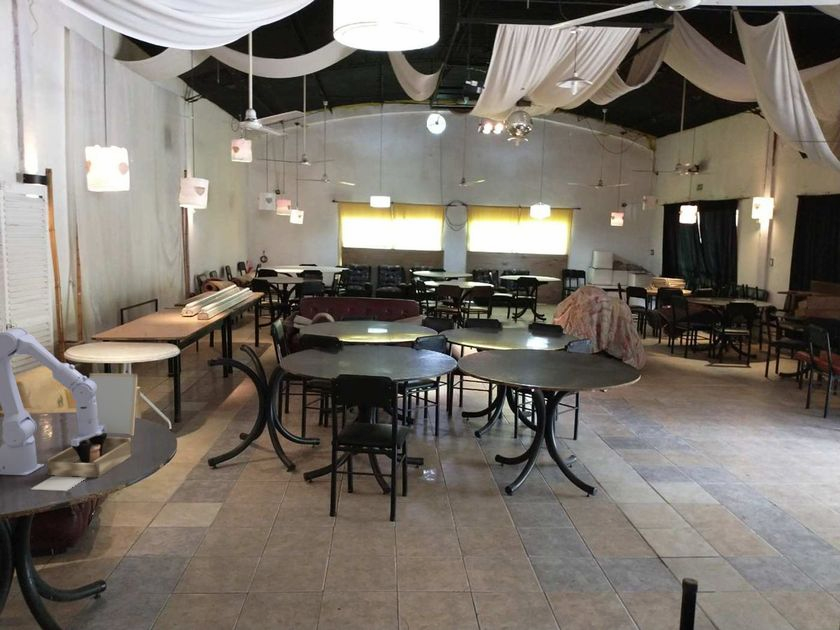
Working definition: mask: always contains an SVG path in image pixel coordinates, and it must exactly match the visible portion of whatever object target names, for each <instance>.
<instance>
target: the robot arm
mask: <svg viewBox="0 0 840 630" xmlns="http://www.w3.org/2000/svg"><path fill="white" fill-rule="evenodd" d="M15 355H28V356H30V357H32V358H33V359H34V360H36V361H37V362H39V363H40V364H42V365H43V366H45V367H46V368H47V369H48V370H50V371H51V375H52V378H54V380H56V381H57V382H59V383H60V384H61V385H62V386H63V387H64V388H66V389H67V390H68V391H70V392H71V394H70V395H71V397H72V399H73V400H75V411H76V412H77V415H76V424H77V423H78V426H77V433H76V435H75V436H74V437H73V438H71V439H70V445H71V446H70V447H73V448H74V449H75V451H76V452H77V454H78V456H79V458H80V460H79V461H80V463H89V462H90V448H91V445H92V444H99V445H100V450H99V452H100V457H102V455H101V454H102V448H103V444H104V441H105V439H106V437H108V433H102V431H106V425H99V424H98V413H97V403H96V395H94V394H95V393H96V392H97V389H98V387H97V384H96V382H95V381H94V380H93V379H90V378H89V377H87V376H86V375H83V374H82V373H80V372H79V371H78V370H77V369H75V368H76V366H75V365H74V364H69V363H67V362H64V363H63V362H61V361H60V360H58V359H57V358H56V357H55V356H54V355H53V354H52V353H51V352H50V351H49V350H47V348H45V347H44V346H43V345H42V344H41V343H40V342H39V341H38V340H37V339H36V337H35V336H34V335H33V334H31V333H29V332H28V331H27V330H26V329H25V328H23V327H19V326H18V327H17V326H16V327H13V328H11V329H8V330H6V331H3V332H0V406H1V410H2V413H3V415H4V416H3V420H2V424H1V426H2V434H1V438H2V441H3V442H4V443H2V444H1V446H0V475H5V476H7V475H9V476H29V475H30V474H32V473H33V472H36V471H37V470H40V469H41V468H43V467H45V464H44V463H38V459H37V458H38V457H37V447H36V441H35V437H34V434H35V433H36V432H37V428H38V427H37V426H38V425H37V423H36V421H35V420H34V419H33V418H32V417H31V414H30V412H28V410H26V409H25V407H24V404H23V401H22V397H21V394H20V391H19V388H18V384H17V381H16V378H15V375H14V372H13V368H12V365H11V362H10V361H11V360H12V359H13V357H14V356H15ZM93 395H94V396H93ZM78 432H79V433H78ZM87 439H89V441H90V443H87V442H86V440H87Z"/></svg>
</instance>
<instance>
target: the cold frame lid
mask: <svg viewBox="0 0 840 630" xmlns="http://www.w3.org/2000/svg"><path fill="white" fill-rule="evenodd" d="M88 376H89V377H88V378H90V379H93V380H94V381H95V382H96V384H97V387H98V389H97V392H96V393H95V394H94V395H96V403H97V413H98V424H99V425H106V431H102V433H107V434H126V435H127V434H129V436H134V435H135V425H136V424H135V422H136V421H135V420H136V405H137V393H138V392H137V390H138V377H139V374H138V373H109V372H107V373H105V372H103V373H102V372H100V373H99V372H97V373H96V372H89V375H88ZM94 395H93V396H94Z"/></svg>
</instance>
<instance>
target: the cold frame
mask: <svg viewBox="0 0 840 630" xmlns="http://www.w3.org/2000/svg"><path fill="white" fill-rule="evenodd" d="M86 442H87V443H90V441H89V439H87V440H86ZM132 449H133V448H132V439H131V437H122V436H120V437H116V436H107V437H106V439H105V441H104V444H103V448H102V454H101V457H100V458H98V459H97V460H95V461H93V463H81V462H78V461H80V460H79V459H80V458H79V456H78V454H77V452H76V451H75V449H74V448H73V447H72V446H70V447H68V448H66V449H64V450H63V451H61V452H59V453H57V454H55V455H54V456H51V457H50V458H48V459H47V460H46V462H47V470H48V471H47V472H48V476H49V475H55V476H59V477H72V476H79V477H84V478H96V477H97V478H100V477H101V476H103V475H104V474H106V473H107V472H109V471H110V470H112V469H114V468H115V467H117V466H118V465H120V464H121V463H123V462H124V461H125V460H127V459H129V458H131V457H132V455H133V452H132ZM74 462H75V463H74Z"/></svg>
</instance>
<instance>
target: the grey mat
mask: <svg viewBox="0 0 840 630" xmlns="http://www.w3.org/2000/svg"><path fill="white" fill-rule="evenodd" d="M86 478H87V477H72V476H50V477H48V478H47V479H46V480H44V481H42V482H40V483H38V484H37V485H35V486H33V487H31V488H30V490H31V491H46V492H47V491H48V492H49V491H50V492H67V491H69V490H71V489H73V488H74V487H75V485H76V486H78V485H79V484H80V483H82V482H83V480H84V481H86V480H87V479H86ZM81 481H82V482H81ZM78 483H79V484H78ZM72 487H73V488H72Z"/></svg>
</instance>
